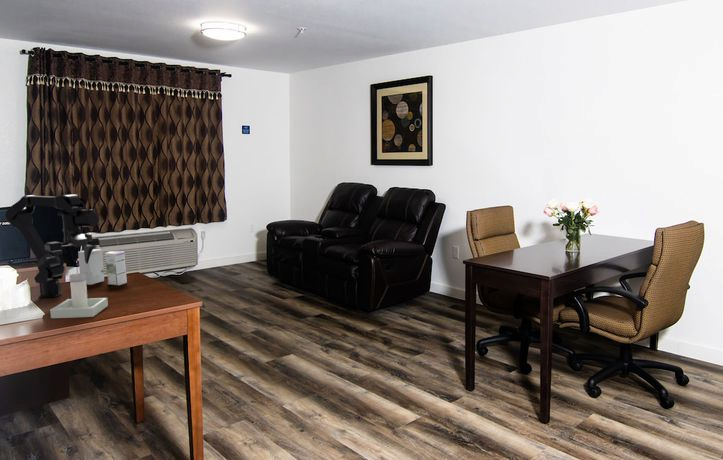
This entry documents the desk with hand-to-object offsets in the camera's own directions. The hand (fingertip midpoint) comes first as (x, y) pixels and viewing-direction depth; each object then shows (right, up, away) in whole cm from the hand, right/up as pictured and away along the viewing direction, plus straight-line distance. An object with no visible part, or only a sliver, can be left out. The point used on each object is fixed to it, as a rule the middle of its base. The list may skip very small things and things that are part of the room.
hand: (74, 265), depth 208 cm
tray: (+12, -16, -19) cm, 27 cm away
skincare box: (-7, -10, +27) cm, 29 cm away
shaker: (+12, -15, -19) cm, 27 cm away
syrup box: (+6, -10, +24) cm, 27 cm away
